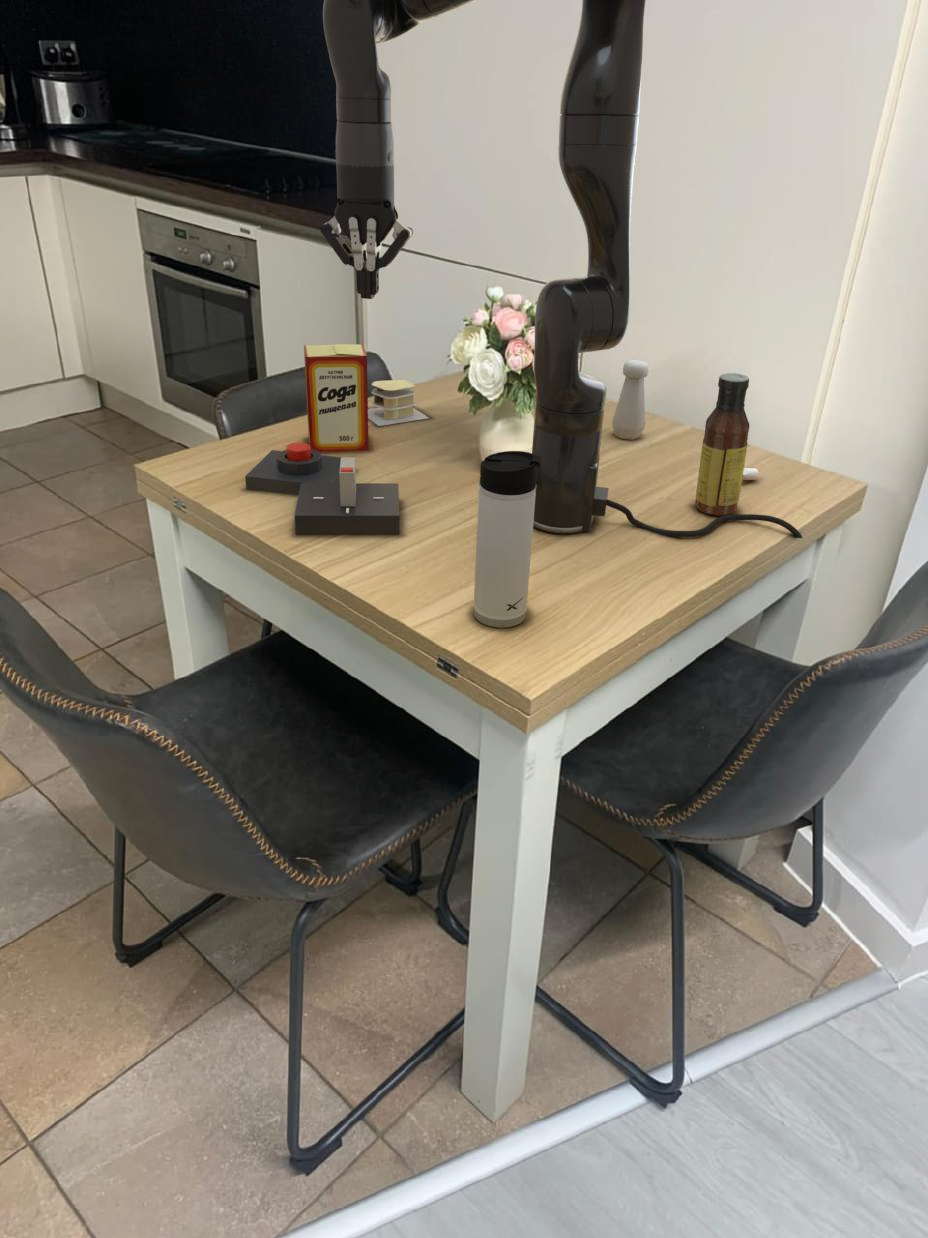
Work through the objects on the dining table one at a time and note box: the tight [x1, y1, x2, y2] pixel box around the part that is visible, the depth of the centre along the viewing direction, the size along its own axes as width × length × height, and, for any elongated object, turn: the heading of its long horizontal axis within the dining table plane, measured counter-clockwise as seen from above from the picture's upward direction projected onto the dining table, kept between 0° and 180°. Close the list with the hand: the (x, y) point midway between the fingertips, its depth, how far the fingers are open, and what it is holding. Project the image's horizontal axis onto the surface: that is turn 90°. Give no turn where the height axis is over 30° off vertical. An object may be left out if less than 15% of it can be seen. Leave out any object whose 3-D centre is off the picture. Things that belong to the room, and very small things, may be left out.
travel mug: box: [473, 450, 542, 629], centre depth 107 cm, size 6×7×20 cm
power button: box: [285, 442, 311, 461], centre depth 142 cm, size 4×4×2 cm
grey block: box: [339, 456, 357, 506], centre depth 131 cm, size 6×2×5 cm, turn 4°
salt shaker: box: [611, 359, 650, 441], centre depth 163 cm, size 6×6×13 cm
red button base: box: [244, 449, 342, 496], centre depth 143 cm, size 13×11×4 cm
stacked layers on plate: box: [368, 379, 429, 427], centre depth 170 cm, size 10×9×6 cm
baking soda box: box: [303, 343, 370, 453], centre depth 154 cm, size 10×6×16 cm
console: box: [294, 482, 400, 536], centre depth 133 cm, size 14×11×3 cm
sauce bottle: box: [695, 372, 750, 517], centre depth 136 cm, size 6×6×20 cm
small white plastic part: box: [742, 465, 760, 481], centre depth 149 cm, size 4×6×3 cm, turn 89°
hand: (367, 297), depth 132 cm, fingers closed
